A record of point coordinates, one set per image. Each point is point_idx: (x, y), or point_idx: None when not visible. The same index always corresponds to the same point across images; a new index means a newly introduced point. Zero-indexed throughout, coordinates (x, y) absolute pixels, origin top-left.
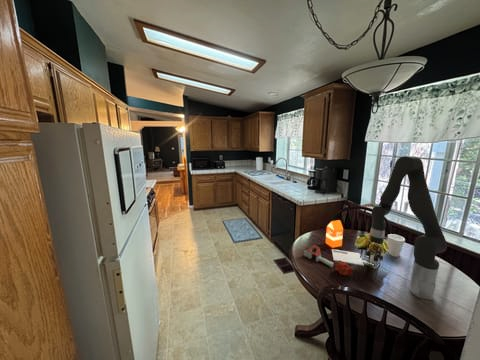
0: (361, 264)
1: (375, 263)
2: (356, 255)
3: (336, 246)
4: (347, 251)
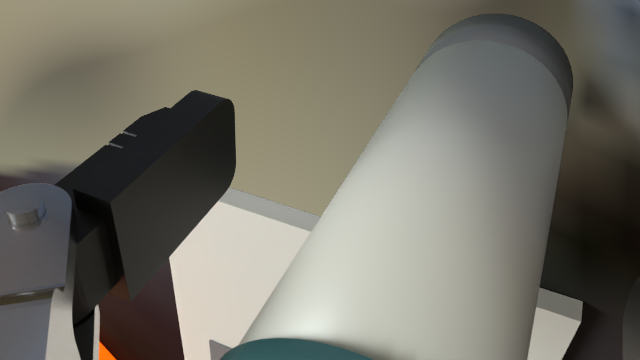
0: (562, 352)
1: (565, 108)
2: (252, 264)
3: (103, 358)
4: (180, 321)
